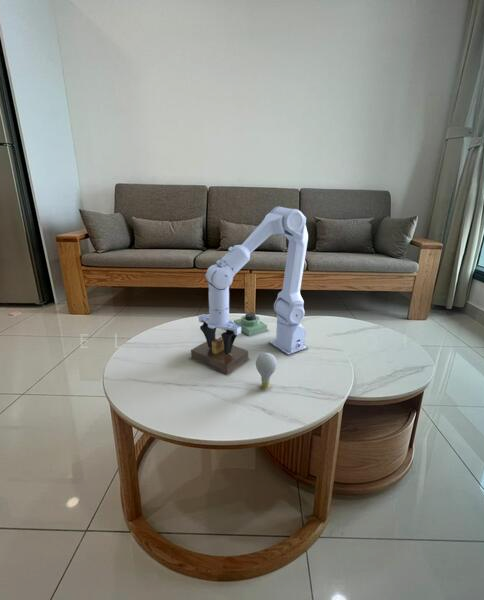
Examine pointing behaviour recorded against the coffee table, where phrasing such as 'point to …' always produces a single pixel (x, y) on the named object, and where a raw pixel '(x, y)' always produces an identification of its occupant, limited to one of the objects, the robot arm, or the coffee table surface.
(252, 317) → the alarm button
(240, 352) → the plate
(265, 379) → the light bulb
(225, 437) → the coffee table surface
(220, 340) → the thumb turn
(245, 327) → the block
